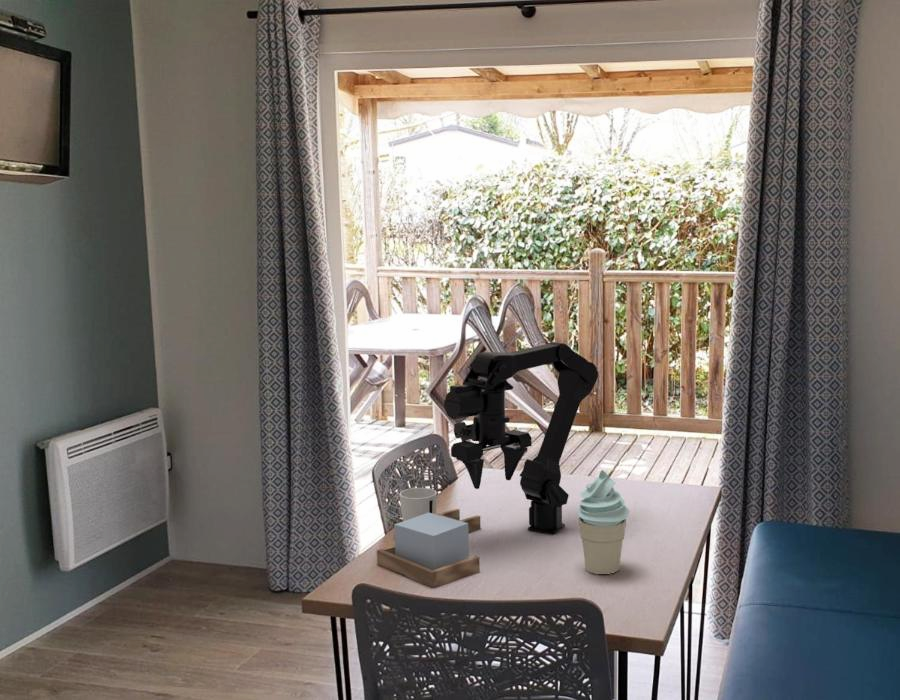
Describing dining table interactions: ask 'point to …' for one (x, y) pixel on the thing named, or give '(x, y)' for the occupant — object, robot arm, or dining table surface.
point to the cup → (417, 502)
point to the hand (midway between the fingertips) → (492, 484)
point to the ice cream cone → (602, 525)
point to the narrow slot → (472, 521)
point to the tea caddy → (432, 540)
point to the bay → (424, 574)
